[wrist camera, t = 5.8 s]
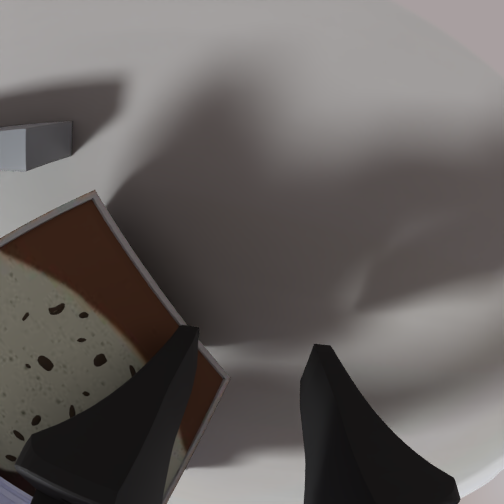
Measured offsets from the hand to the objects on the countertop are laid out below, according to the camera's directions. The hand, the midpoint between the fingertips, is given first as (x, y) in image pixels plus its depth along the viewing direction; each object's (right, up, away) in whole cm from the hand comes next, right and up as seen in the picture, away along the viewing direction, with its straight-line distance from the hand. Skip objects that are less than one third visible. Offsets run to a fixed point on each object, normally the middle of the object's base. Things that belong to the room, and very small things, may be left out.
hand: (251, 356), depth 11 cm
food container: (-5, +2, +2) cm, 6 cm away
